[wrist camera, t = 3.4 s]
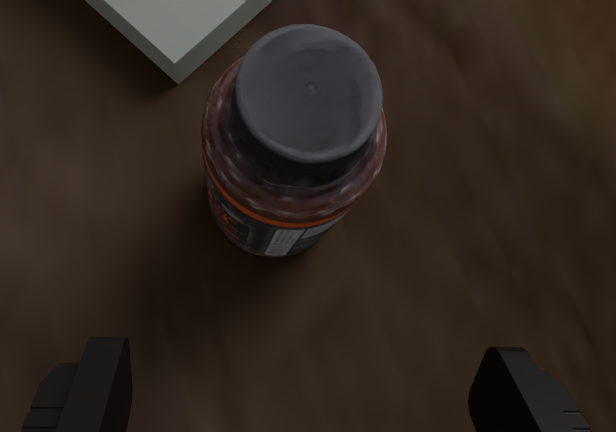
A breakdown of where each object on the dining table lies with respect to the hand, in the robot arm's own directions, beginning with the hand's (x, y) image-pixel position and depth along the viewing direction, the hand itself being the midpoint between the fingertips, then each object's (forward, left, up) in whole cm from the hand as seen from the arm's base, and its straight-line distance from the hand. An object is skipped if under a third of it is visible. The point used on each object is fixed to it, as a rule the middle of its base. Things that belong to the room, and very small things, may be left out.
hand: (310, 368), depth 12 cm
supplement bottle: (-5, -5, -12) cm, 14 cm away
